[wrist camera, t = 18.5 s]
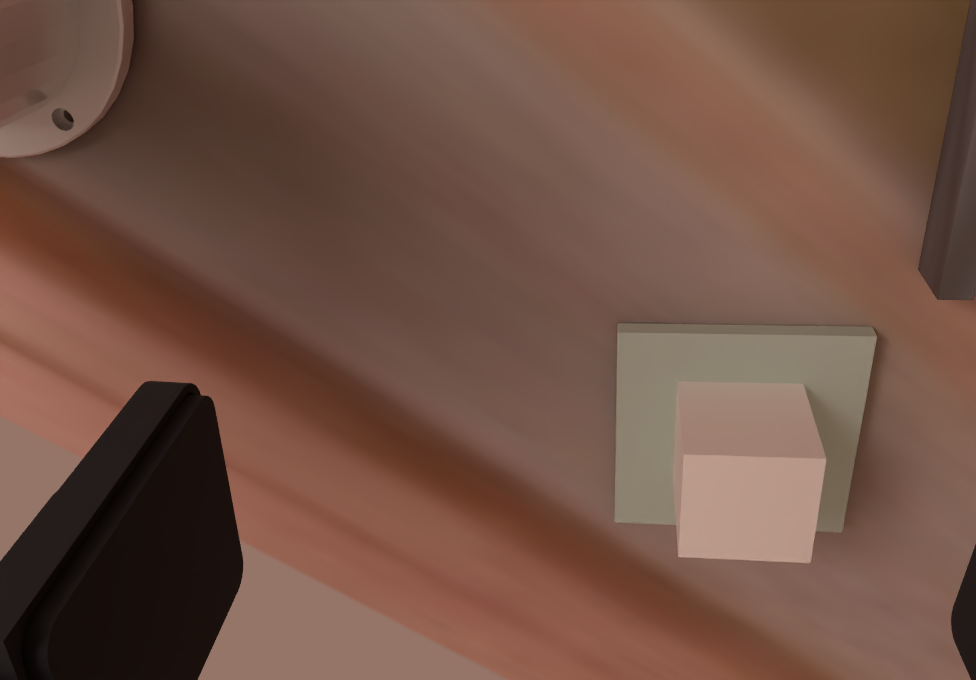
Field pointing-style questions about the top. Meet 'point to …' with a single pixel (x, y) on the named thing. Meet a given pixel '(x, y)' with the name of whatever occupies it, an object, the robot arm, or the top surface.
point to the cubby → (955, 188)
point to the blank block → (746, 471)
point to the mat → (744, 359)
